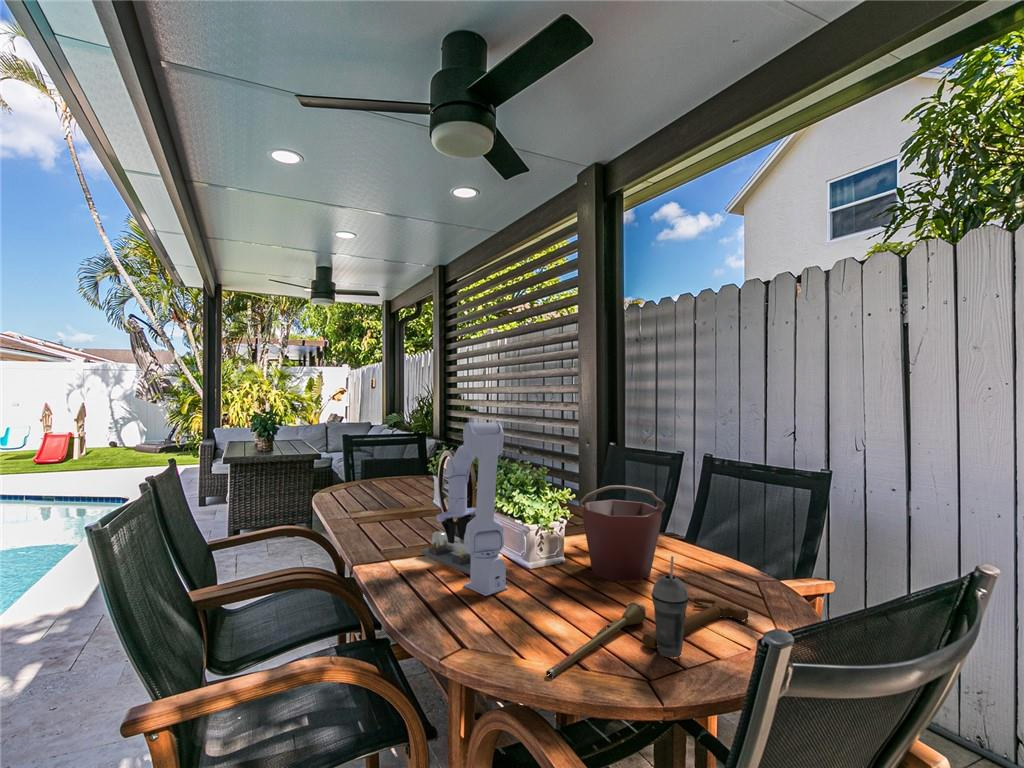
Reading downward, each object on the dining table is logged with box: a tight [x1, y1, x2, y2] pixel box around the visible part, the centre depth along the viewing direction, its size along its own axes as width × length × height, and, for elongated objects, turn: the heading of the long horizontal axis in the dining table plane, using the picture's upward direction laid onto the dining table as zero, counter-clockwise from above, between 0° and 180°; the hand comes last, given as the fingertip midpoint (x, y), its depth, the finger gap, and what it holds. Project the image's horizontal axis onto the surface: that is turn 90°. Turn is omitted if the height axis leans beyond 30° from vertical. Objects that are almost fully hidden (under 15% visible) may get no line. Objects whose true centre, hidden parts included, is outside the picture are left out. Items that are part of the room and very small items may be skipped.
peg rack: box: [421, 541, 471, 575], centre depth 164 cm, size 24×10×5 cm, turn 44°
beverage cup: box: [651, 555, 690, 658], centre depth 108 cm, size 7×7×20 cm
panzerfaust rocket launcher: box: [545, 601, 647, 678], centre depth 112 cm, size 5×35×5 cm
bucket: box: [578, 484, 667, 582], centre depth 155 cm, size 24×22×25 cm
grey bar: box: [431, 530, 471, 558], centre depth 164 cm, size 24×4×4 cm, turn 44°
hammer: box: [641, 597, 749, 650], centre depth 120 cm, size 12×3×30 cm
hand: (457, 541), depth 165 cm, fingers open, 4 cm apart
